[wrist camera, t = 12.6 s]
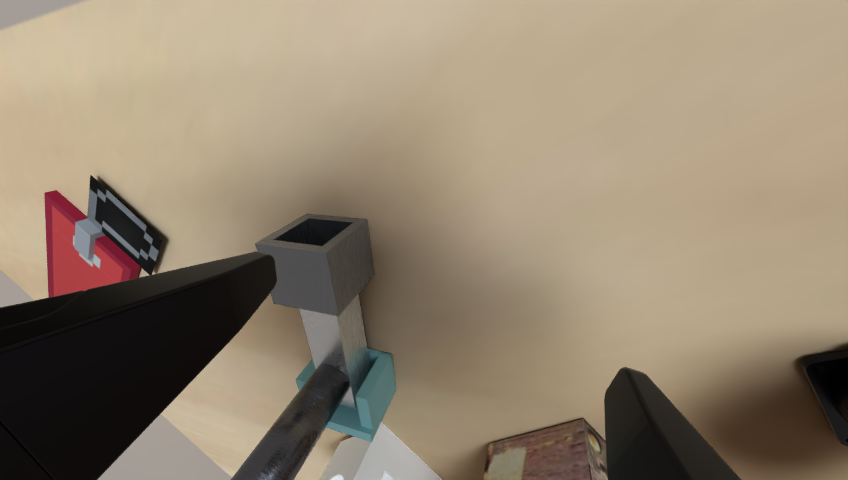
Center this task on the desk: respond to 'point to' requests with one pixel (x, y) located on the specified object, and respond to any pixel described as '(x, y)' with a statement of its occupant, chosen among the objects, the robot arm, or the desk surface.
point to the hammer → (314, 394)
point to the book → (549, 455)
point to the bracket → (376, 460)
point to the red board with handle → (95, 242)
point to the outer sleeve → (320, 262)
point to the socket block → (363, 398)
